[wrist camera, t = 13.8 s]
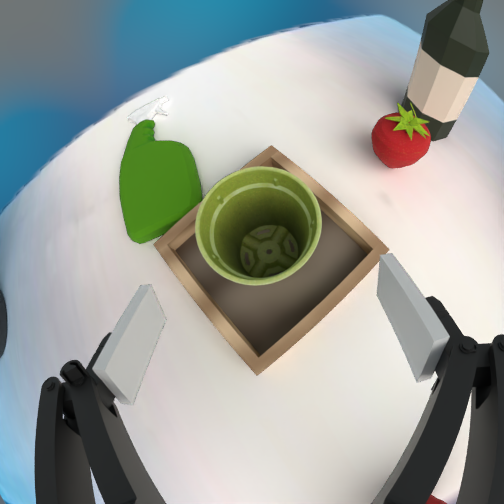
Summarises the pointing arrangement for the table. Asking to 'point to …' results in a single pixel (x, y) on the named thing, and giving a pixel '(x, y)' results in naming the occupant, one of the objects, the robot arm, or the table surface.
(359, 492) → the table surface
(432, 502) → the plastic cup
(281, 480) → the table surface
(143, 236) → the spray bottle
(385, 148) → the strawberry
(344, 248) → the square wooden tray
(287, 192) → the plant pot
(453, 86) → the wine bottle
